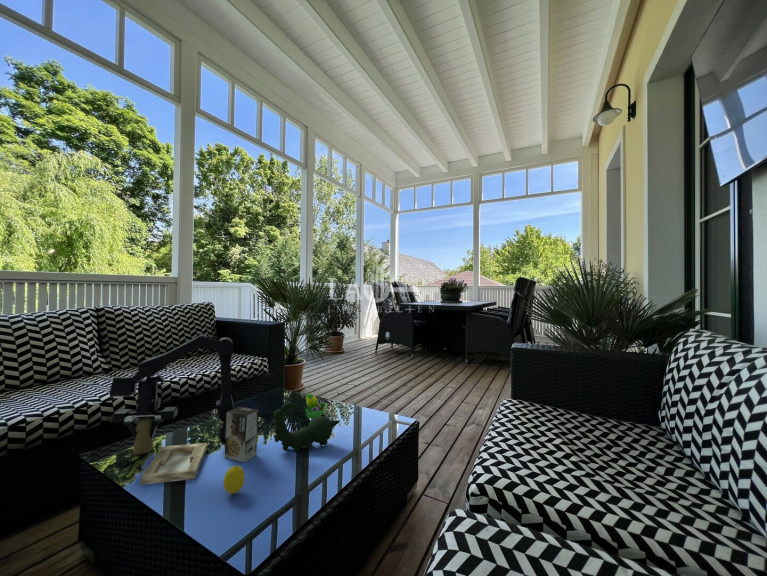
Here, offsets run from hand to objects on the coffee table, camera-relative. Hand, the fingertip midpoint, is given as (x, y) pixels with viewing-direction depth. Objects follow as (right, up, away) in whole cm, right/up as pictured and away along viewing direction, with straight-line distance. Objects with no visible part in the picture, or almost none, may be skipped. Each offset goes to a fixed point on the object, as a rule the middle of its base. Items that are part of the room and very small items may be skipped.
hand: (143, 438), depth 116 cm
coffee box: (+35, -6, -1) cm, 35 cm away
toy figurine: (+56, -8, +9) cm, 57 cm away
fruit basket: (+52, -9, +40) cm, 67 cm away
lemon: (+42, -6, -23) cm, 48 cm away
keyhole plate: (+18, -5, -9) cm, 20 cm away
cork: (0, -4, 0) cm, 4 cm away
